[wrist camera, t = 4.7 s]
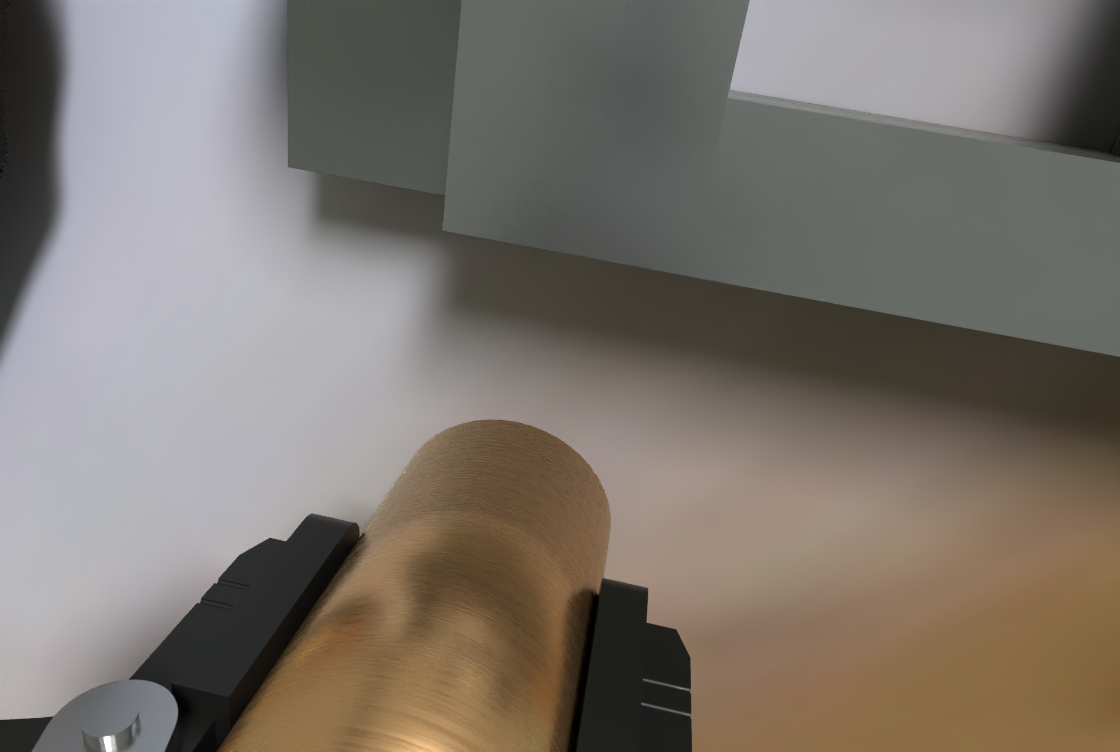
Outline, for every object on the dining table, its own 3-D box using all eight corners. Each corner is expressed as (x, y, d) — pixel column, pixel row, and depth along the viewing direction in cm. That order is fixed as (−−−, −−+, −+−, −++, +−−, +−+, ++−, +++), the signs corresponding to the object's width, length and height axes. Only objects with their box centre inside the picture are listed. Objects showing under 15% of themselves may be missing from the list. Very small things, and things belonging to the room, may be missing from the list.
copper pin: (364, 593, 15) (-10, 1230, 7) (376, 362, 13) (-147, 886, 5) (615, 651, 15) (533, 1397, 6) (670, 422, 13) (653, 1105, 4)
